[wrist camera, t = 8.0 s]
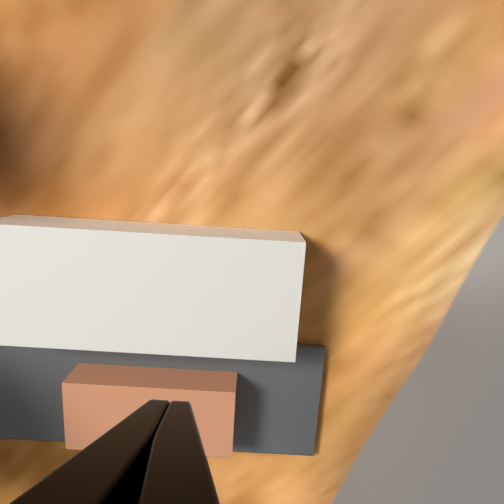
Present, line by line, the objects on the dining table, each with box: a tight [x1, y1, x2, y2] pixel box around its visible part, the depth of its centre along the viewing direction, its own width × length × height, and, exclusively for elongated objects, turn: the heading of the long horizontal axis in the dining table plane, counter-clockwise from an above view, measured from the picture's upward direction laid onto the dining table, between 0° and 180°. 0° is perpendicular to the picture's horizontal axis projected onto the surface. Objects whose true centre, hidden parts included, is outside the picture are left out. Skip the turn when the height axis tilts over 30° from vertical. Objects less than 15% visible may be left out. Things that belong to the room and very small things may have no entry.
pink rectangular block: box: [62, 363, 237, 458], centre depth 21 cm, size 9×4×2 cm, turn 87°
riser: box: [0, 214, 306, 362], centre depth 20 cm, size 15×6×3 cm, turn 87°
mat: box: [0, 344, 325, 456], centre depth 22 cm, size 19×7×1 cm, turn 87°
